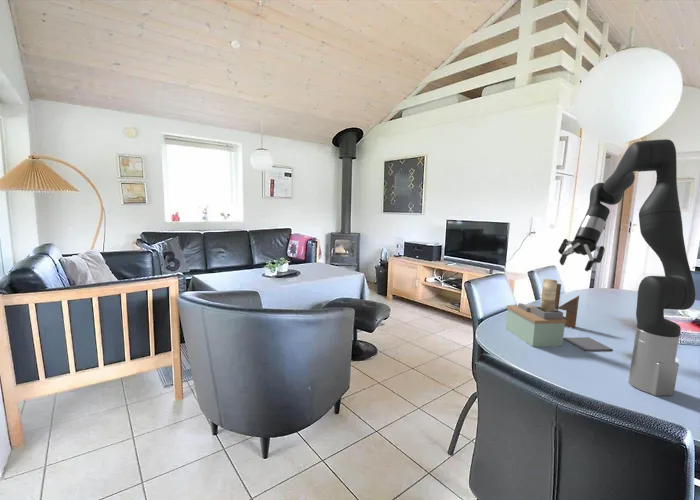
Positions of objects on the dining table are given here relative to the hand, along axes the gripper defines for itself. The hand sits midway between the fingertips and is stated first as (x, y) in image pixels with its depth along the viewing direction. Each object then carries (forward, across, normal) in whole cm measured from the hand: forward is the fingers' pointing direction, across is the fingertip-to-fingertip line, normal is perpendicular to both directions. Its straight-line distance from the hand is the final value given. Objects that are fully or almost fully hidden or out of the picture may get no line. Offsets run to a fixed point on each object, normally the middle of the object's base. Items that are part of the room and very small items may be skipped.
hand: (573, 267), depth 131 cm
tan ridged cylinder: (+21, -2, +1) cm, 21 cm away
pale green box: (+30, -5, +6) cm, 32 cm away
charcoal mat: (+24, +10, +14) cm, 30 cm away
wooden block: (+18, -5, +30) cm, 35 cm away
